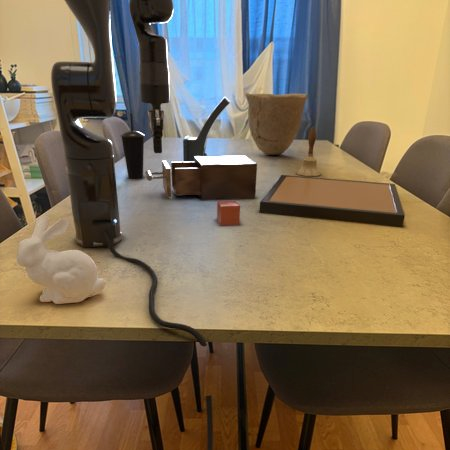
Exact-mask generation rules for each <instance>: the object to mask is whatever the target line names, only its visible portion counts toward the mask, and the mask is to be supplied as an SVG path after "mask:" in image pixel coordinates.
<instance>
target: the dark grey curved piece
mask: <svg viewBox="0 0 450 450" xmlns="http://www.w3.org/2000/svg"><path fill="white" fill-rule="evenodd" d="M231 103H232V102H231V100H230V99H228V97H226V96H224V97H223V98H222V99H221V100H220V101H219V102H218V104H217V105H216V106H215V108H213V110H212V111H211V113H210V114H209V116H208V117H207V118H206V120H205V122H204V124H203V126H202V128H201V130H200V131H199V134H198V136H196V137H195V136H194V137H193V136H190V135H185V136H184V138H183V139H182V153H183V159H182V160H183V161H182V162H194V157H198V156H208V154H207V153H206V149H207V142H208V137H209V135H210V133H211V129H212V128H213V127H214V124H215V123H216V121H217V120H218V118H219V116H221V114H222V113H223V111H225V109H226V108H227V107H228V106H229V105H230V104H231Z"/></svg>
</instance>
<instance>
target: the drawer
mask: <svg viewBox="0 0 450 450" xmlns="http://www.w3.org/2000/svg"><path fill="white" fill-rule="evenodd" d="M170 166H171V167H170ZM161 168H162V169H161V171H150V170H146V171H145V173H144V174H145V178H146V180H147V181H149V182H151V181H152V180H159V179H160V180H162V188H163V190H164V193H165V196H166V198H168V199H169V198H172V190H173V192H174V194H175V196H193V195H195V196H197V195H198V196H199V195H201V167H200V166H199V164H198V163H197V162H183V161H171V162H170V165H169V163H168V162H167V160H162V161H161Z"/></svg>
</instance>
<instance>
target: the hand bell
mask: <svg viewBox="0 0 450 450" xmlns="http://www.w3.org/2000/svg"><path fill="white" fill-rule="evenodd" d="M307 139H308V140H307V141H308V153H307V157H305V158H304V159H303V160H302V161H303V162H302V166H301V168H300V169H299V170H298V171H297V176H302V177H319V176H320V175H321V172H320V171H319V169H318V167H317V158H315V157H314V146H315V144H316V139H317V132H316V127H314V126H312V127H310V130H309V132H308V138H307Z"/></svg>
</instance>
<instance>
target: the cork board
mask: <svg viewBox="0 0 450 450" xmlns="http://www.w3.org/2000/svg"><path fill="white" fill-rule="evenodd" d="M259 213H261V214H270V215H282V216H289V217H290V216H291V217H301V218H309V219H310V218H311V219H318V220H319V219H321V220H331V221H341V222H351V223H352V222H353V223H358V224H372V225H379V226H389V227H400V228H403V226H404V222H405V216H406V215H405V211H404V208H403V205H402V202H401V199H400V196H399V192H398V189H397V186H396V183H390V182H377V181H365V180H364V181H363V180H352V179H351V180H350V179H341V178H340V179H339V178H328V177H327V178H326V177H316V176H301V175H290V174H289V175H288V174H280V176H279V177H278V179H277V180H276V181H275V182H274V184H273V185H272V186H271V187H270V189H269V190H268V191H267V192H266V194H265V195H264V196H263V198H262V199H261V200H260V201H259Z"/></svg>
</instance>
